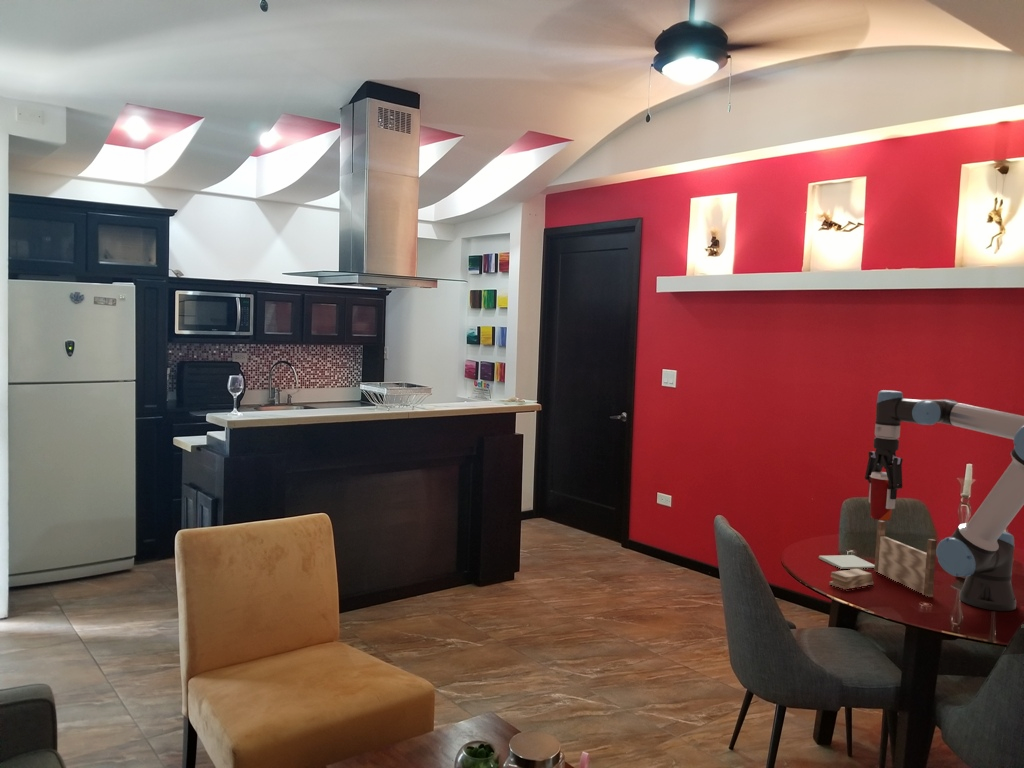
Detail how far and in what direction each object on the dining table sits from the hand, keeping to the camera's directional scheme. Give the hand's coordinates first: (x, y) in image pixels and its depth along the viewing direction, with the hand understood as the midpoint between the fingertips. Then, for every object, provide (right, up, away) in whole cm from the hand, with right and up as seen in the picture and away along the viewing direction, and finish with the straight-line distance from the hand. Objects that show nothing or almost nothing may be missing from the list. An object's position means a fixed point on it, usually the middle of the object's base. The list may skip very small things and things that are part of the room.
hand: (881, 505), depth 262 cm
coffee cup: (0, -4, 0) cm, 4 cm away
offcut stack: (-12, -26, -4) cm, 28 cm away
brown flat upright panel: (+7, -26, 0) cm, 27 cm away
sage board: (-2, -24, +21) cm, 32 cm away
